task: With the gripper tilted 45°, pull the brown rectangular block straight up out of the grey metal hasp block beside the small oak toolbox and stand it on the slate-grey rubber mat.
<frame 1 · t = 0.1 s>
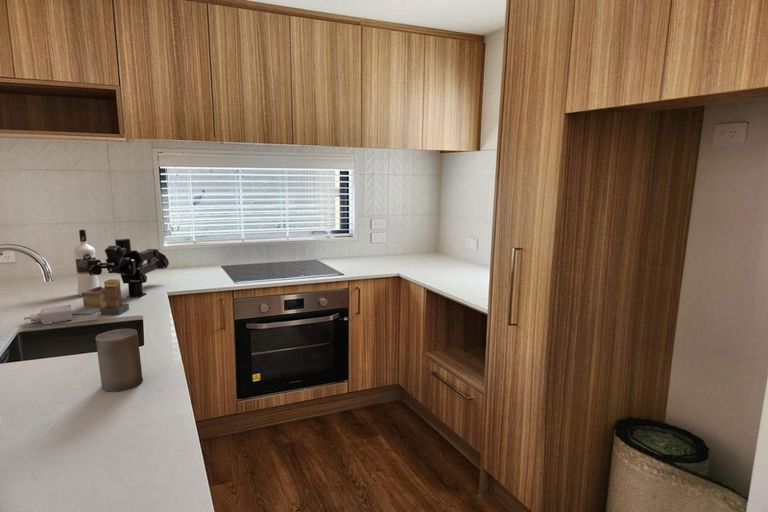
hand: (100, 271, 196), 17 cm above the worktop, tool horizontal, fingers open, 9 cm apart
vodka: (89, 294, 228), on the worktop
rubber mat: (87, 311, 198), on the worktop
pillar candle: (122, 384, 129), on the worktop
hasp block: (115, 312, 197), on the worktop
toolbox: (98, 305, 207), on the worktop
brown rectangular block: (113, 296, 196), in the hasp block
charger: (49, 322, 186), on the worktop
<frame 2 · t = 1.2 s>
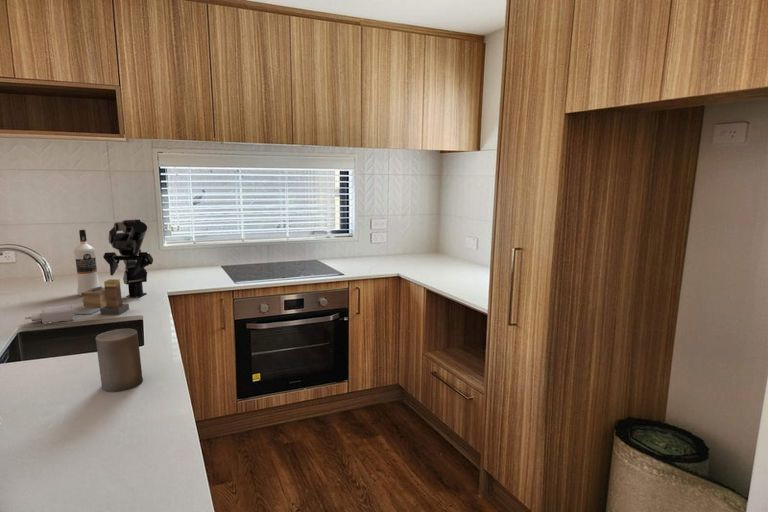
hand: (122, 275, 203), 14 cm above the worktop, tool tilted 45°, fingers open, 9 cm apart
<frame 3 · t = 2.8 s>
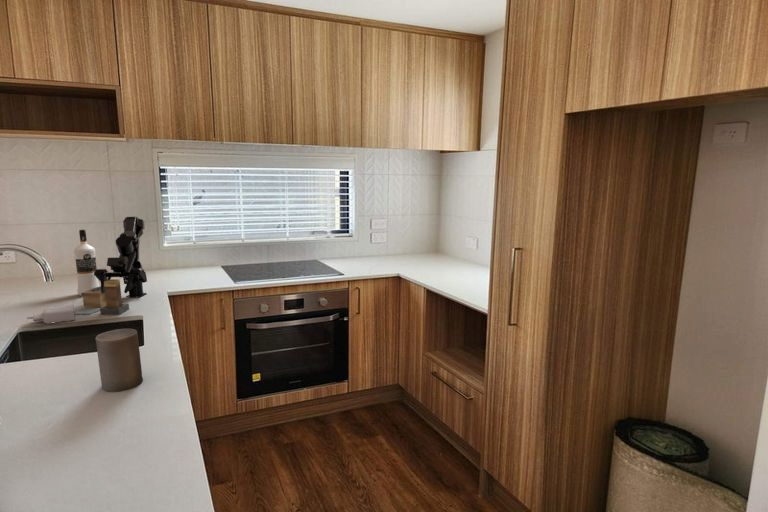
hand: (113, 292, 196), 8 cm above the worktop, tool tilted 45°, fingers open, 9 cm apart
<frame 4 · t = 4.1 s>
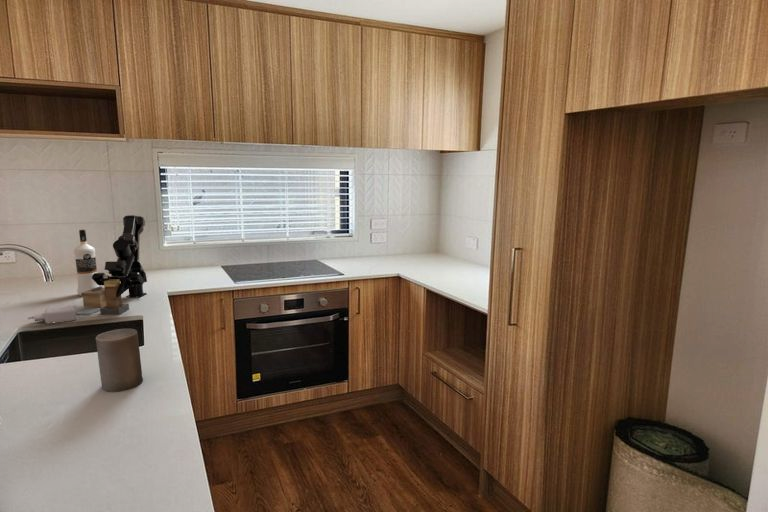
hand: (111, 296, 195), 7 cm above the worktop, tool tilted 45°, fingers closed on brown rectangular block, 4 cm apart
brown rectangular block: (113, 296, 196), in the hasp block, touching gripper
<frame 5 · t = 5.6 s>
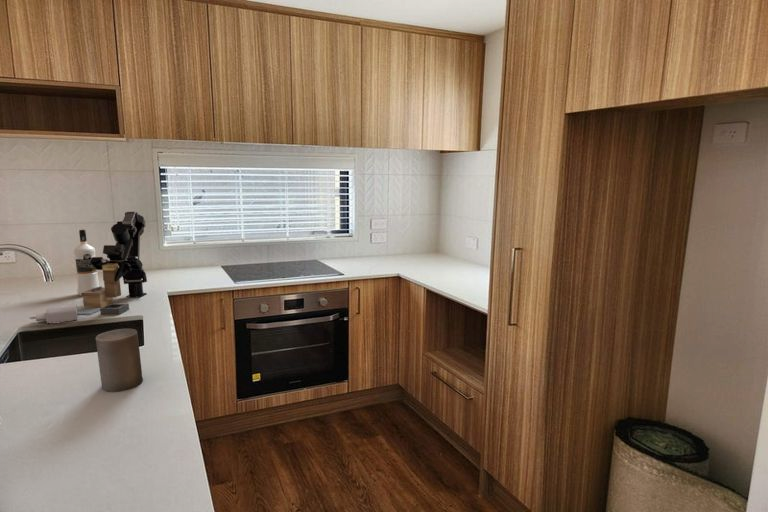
hand: (109, 280, 194), 13 cm above the worktop, tool tilted 45°, fingers closed on brown rectangular block, 4 cm apart
brown rectangular block: (111, 280, 195), point 13 cm above the worktop, touching gripper
when the fingers open (8 cm above the worktop, at t = 8.5 s): brown rectangular block stays where it is, resting on rubber mat.
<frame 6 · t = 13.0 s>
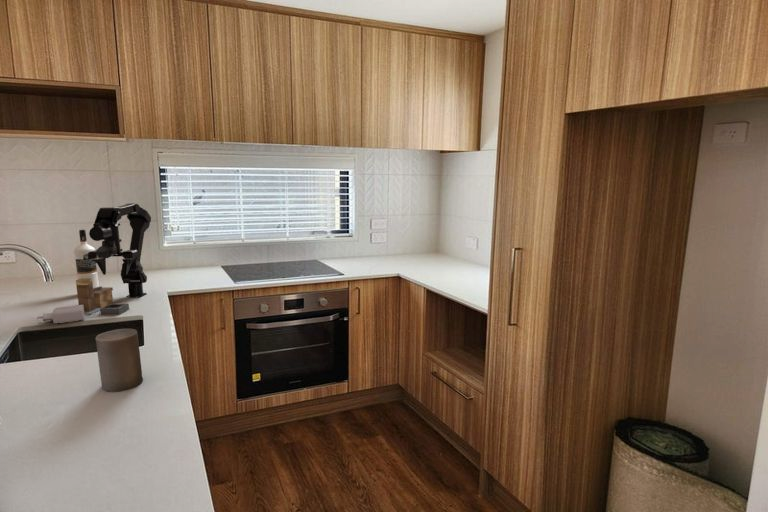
hand: (115, 274, 207), 13 cm above the worktop, tool pointing down, fingers open, 9 cm apart
brown rectangular block: (85, 295, 197), on the rubber mat
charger: (61, 321, 187), on the worktop
everything else where it was.
at the end: brown rectangular block 0.0 cm off-centre on the rubber mat, point 7.0 cm above the rubber mat's base; brown rectangular block tilted 0°; the gripper is holding nothing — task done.
